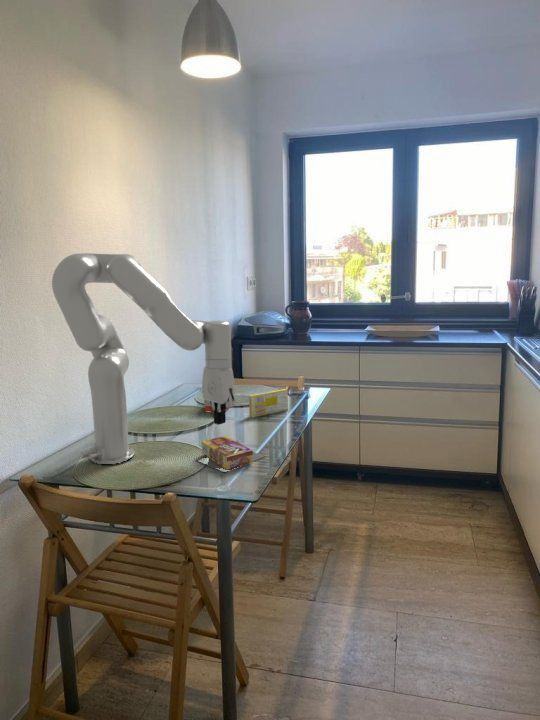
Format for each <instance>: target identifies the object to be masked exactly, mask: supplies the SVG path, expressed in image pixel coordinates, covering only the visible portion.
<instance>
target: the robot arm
mask: <svg viewBox="0 0 540 720" xmlns="http://www.w3.org/2000/svg"><path fill="white" fill-rule="evenodd" d="M91 283H92V284H93V283H96V284H97V283H98V284H99V283H101V284H114V285H115V286H116V287H117V288H118V289H119V290H121V291H122V292H123V293H124V295H126V296H127V297H129V299H130V300H132V301H133V302H134V303H135V304H136V305H137V306H138V307H139V308H140V309H141V310H143V312H144V313H145V314H146V315H147V316H148V317H149V319H150V320H151V321H152V322H154V324H155V325H156V326H157V327H158V328H159V329H160V330H161V331H162V332H163V333H164V334H165V335H166V336H167V337H168V338H169V339H171V341H172V342H173V343H175V344H176V345H177V346H178V347H180V348H181V349H183V350H185V351H195V350H197V349H199V348H200V347H201V346H202V344H203V345H204V353H205V354H204V357H205V366H204V368H203V374H202V380H201V381H202V382H201V383H202V387H201V389H202V391H201V392H202V393H201V395H202V398H203V400H204V399H206V400H207V401H208V402H209V403H211V405H212V410H213V411H214V413H213V423H214V424H215V425H218V426H219V425H223V424H226V421H227V420H226V419H227V418H226V412H225V410H227V408H229V407H230V408H232V407H234V404H233V402H232V401H234V402H235V398H236V387H235V377H234V371H233V368H232V339H231V338H232V333H231V331H232V330H231V324H230V322H228V321H226V320H210V321H208V320H207V321H204V320H198V319H189V318H188V317H187V316H186V314H184V313H183V312H182V311H181V310H180V309H179V307H177V305H176V304H175V303H174V301H173V300H172V299H171V297H170V294H169V292H168V291H167V290H166V289H165V287H163V286H162V284H160V283H159V282H158V281H157V280H156V279H155V278H153V276H151V274H149V273H148V272H147V271H146V269H144V268H143V267H142V265H141V262H140V260H138V258H137V257H135V256H134V255H131V254H127V253H123V254H121V253H120V254H119V253H118V254H117V253H116V254H115V253H110V254H109V253H92V252H91V253H89V252H88V253H87V252H85V253H79V252H78V253H73V254H70V255H67V256H66V257H64V258H63V259H62V260H61V261H60V262H59V263H58V265H56V267H55V269H54V272H53V275H52V279H51V288H52V292H53V295H54V298H55V300H56V302H57V304H58V307H59V309H60V311H61V313H62V315H63V317H64V319H65V321H66V323H67V326H68V328H69V331H71V335H72V336H73V338H74V340H75V342H76V345H77V346H78V347H79V348H81V349H82V350H83V351H85V352H90V353H91V355H92V357H93V359H92V360H91V362H90V363H89V366H88V370H87V377H88V383H89V388H90V389H89V390H90V394H91V395H90V396H91V406H92V407H91V408H92V418H93V419H92V420H93V429H94V432H93V433H94V443H93V444H91V448H89V449H88V450H83V451H80V452H79V458H80V459H85V458H89V460H91V462H93V463H94V464H96V463H97V465H101V464H113V465H115V464H114V463H118V462H122V461H125V460H128V459H130V458H131V457H132V456H133V455H134V454H135V455H136V452H135V450H134V449H133V448H132V447H131V446H130V443H129V442H130V441H129V428H128V427H129V426H128V425H129V424H128V409H127V408H128V407H127V397H126V396H127V395H126V389H125V387H126V385H125V380H124V378H125V377H124V376H125V374H126V373H127V371H128V369H129V364H130V361H129V357H128V353H127V352H126V349H125V347H124V345H123V343H122V341H121V339H120V336H119V334H118V332H117V330H116V327H115V326H114V324H113V323H112V321H110V319H109V318H107V317H106V316H104V315H102V314H98V312H97V310H96V308H95V305H94V304H93V300H92V299H91V298H90V296H89V294H88V293H87V290H86V284H91ZM230 408H229V409H230ZM227 411H228V410H227ZM130 460H131V459H130Z"/></svg>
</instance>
